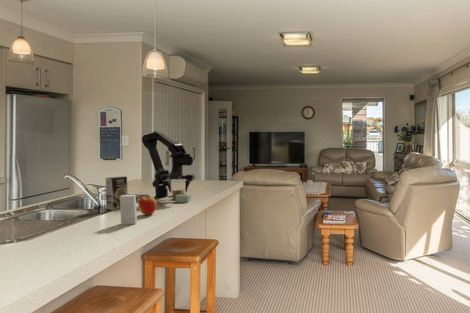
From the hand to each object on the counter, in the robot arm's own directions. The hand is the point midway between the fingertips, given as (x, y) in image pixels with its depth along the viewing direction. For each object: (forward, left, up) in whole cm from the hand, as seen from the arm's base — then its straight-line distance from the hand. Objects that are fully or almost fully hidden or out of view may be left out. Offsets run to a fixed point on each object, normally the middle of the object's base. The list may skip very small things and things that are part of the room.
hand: (178, 192), depth 260 cm
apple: (0, -50, -4) cm, 50 cm away
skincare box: (-1, -70, -4) cm, 70 cm away
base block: (+6, -11, -4) cm, 13 cm away
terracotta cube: (-5, +11, -4) cm, 13 cm away
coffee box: (-23, -32, -4) cm, 40 cm away
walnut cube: (0, 0, -4) cm, 4 cm away
